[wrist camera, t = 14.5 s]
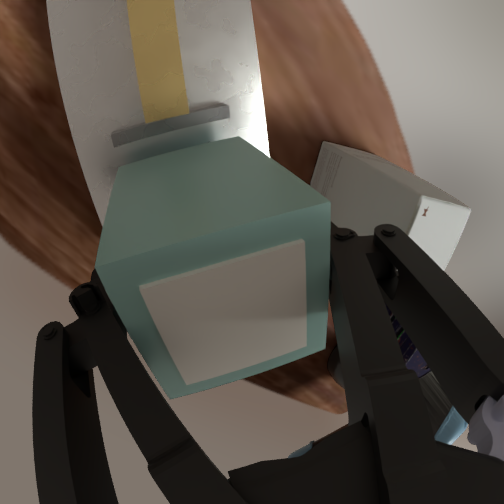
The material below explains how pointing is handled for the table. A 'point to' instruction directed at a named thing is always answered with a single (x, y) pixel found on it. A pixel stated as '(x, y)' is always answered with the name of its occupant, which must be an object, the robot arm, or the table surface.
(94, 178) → the white base platform
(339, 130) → the table surface
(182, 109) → the hammer with yellow handle
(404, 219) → the supplement box
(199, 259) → the mint green box
